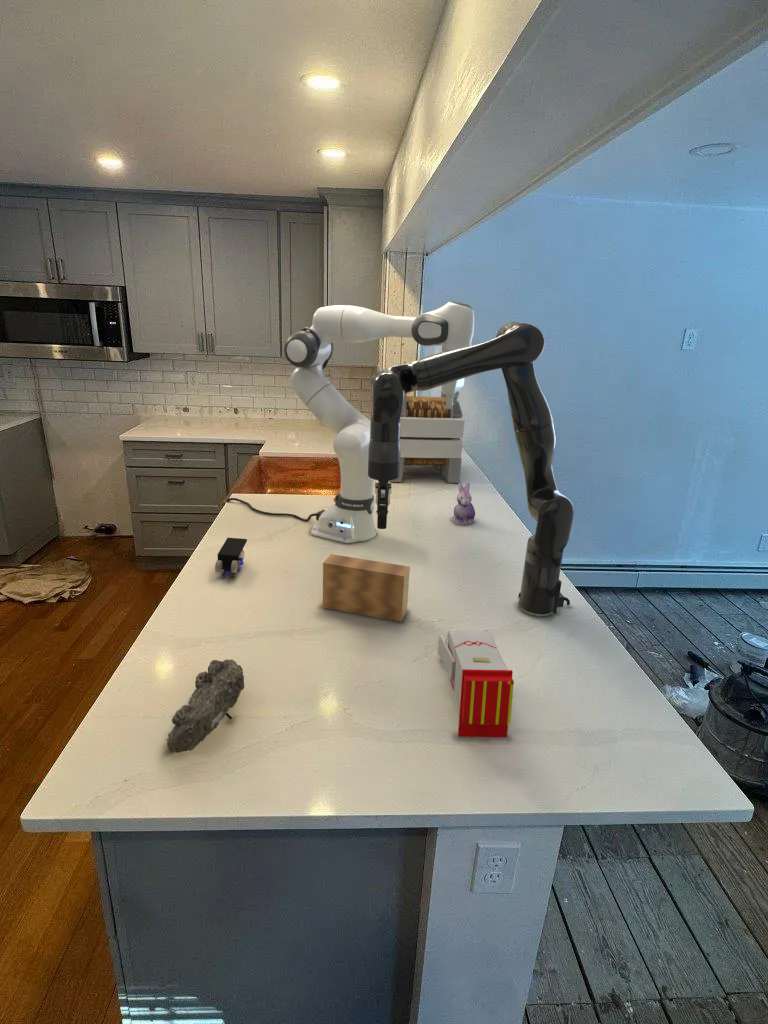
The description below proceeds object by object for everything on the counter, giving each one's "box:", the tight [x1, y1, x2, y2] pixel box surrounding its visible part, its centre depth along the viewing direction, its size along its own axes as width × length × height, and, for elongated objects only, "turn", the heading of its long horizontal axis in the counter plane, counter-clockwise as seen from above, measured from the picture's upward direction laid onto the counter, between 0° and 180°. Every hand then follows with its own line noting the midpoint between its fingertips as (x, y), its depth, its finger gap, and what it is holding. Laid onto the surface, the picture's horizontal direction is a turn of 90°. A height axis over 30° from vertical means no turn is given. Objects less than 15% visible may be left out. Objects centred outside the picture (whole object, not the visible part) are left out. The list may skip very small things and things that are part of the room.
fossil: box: [166, 658, 245, 754], centre depth 106 cm, size 22×10×15 cm
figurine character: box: [214, 537, 248, 578], centre depth 166 cm, size 7×8×15 cm
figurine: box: [452, 481, 476, 526], centre depth 212 cm, size 9×10×15 cm
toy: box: [437, 628, 515, 738], centre depth 117 cm, size 12×13×30 cm
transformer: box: [390, 391, 465, 484], centre depth 268 cm, size 34×33×41 cm
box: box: [322, 553, 411, 623], centre depth 147 cm, size 21×6×13 cm, turn 74°
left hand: (451, 406), depth 174 cm, fingers open, 8 cm apart
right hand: (382, 522), depth 138 cm, fingers open, 8 cm apart
